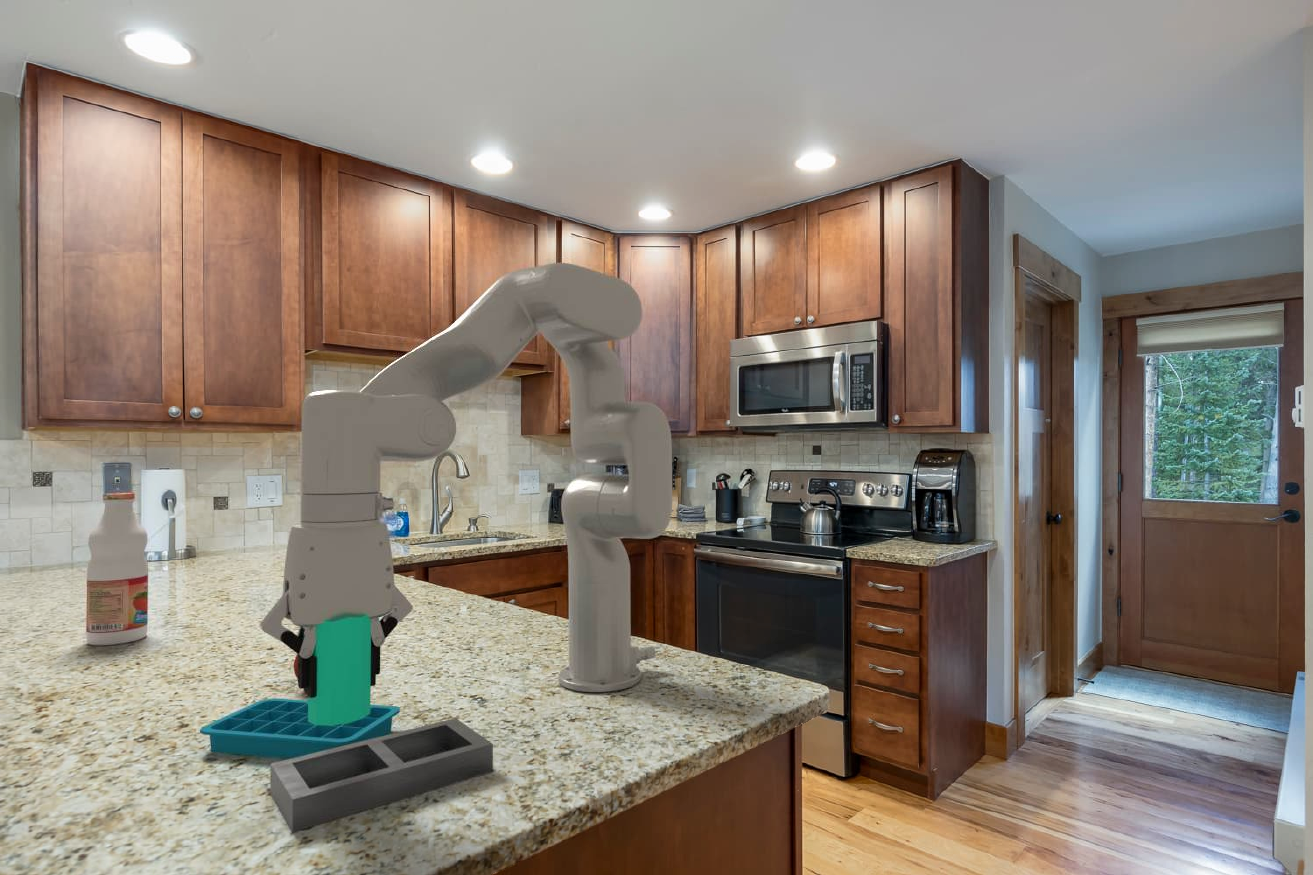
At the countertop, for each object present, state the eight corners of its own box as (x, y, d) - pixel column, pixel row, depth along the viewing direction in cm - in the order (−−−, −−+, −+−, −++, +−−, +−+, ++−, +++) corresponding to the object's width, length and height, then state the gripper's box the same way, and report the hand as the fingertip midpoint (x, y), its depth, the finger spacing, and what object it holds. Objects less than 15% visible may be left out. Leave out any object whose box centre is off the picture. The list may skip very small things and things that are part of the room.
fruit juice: (82, 640, 137) (84, 493, 138) (142, 631, 144) (144, 491, 145) (89, 649, 131) (91, 495, 131) (151, 639, 137) (153, 493, 138)
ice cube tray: (348, 769, 80) (348, 742, 80) (193, 756, 84) (193, 730, 84) (404, 730, 92) (404, 706, 92) (265, 720, 95) (265, 697, 96)
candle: (293, 720, 72) (294, 600, 72) (340, 702, 77) (341, 590, 78) (338, 729, 70) (340, 604, 70) (384, 709, 75) (384, 593, 76)
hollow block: (455, 743, 86) (455, 718, 86) (492, 771, 79) (492, 743, 79) (270, 792, 74) (270, 763, 74) (292, 832, 66) (292, 799, 66)
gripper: (410, 505, 82) (409, 665, 82) (241, 512, 72) (238, 696, 71) (435, 508, 77) (434, 681, 76) (255, 517, 66) (252, 717, 65)
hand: (339, 686), depth 74 cm, fingers closed on candle, 4 cm apart
